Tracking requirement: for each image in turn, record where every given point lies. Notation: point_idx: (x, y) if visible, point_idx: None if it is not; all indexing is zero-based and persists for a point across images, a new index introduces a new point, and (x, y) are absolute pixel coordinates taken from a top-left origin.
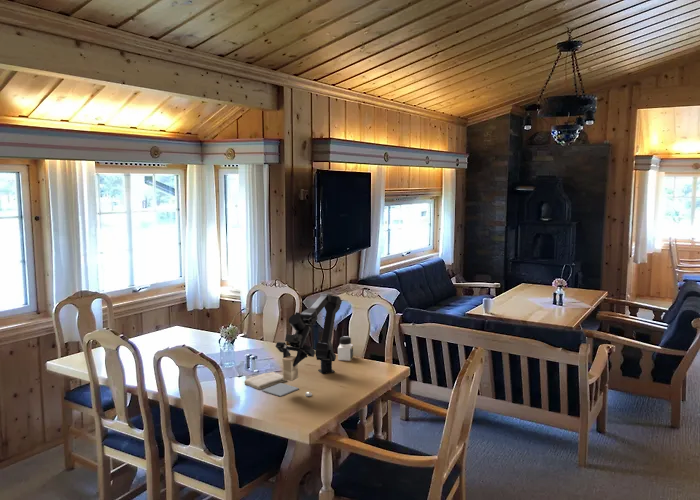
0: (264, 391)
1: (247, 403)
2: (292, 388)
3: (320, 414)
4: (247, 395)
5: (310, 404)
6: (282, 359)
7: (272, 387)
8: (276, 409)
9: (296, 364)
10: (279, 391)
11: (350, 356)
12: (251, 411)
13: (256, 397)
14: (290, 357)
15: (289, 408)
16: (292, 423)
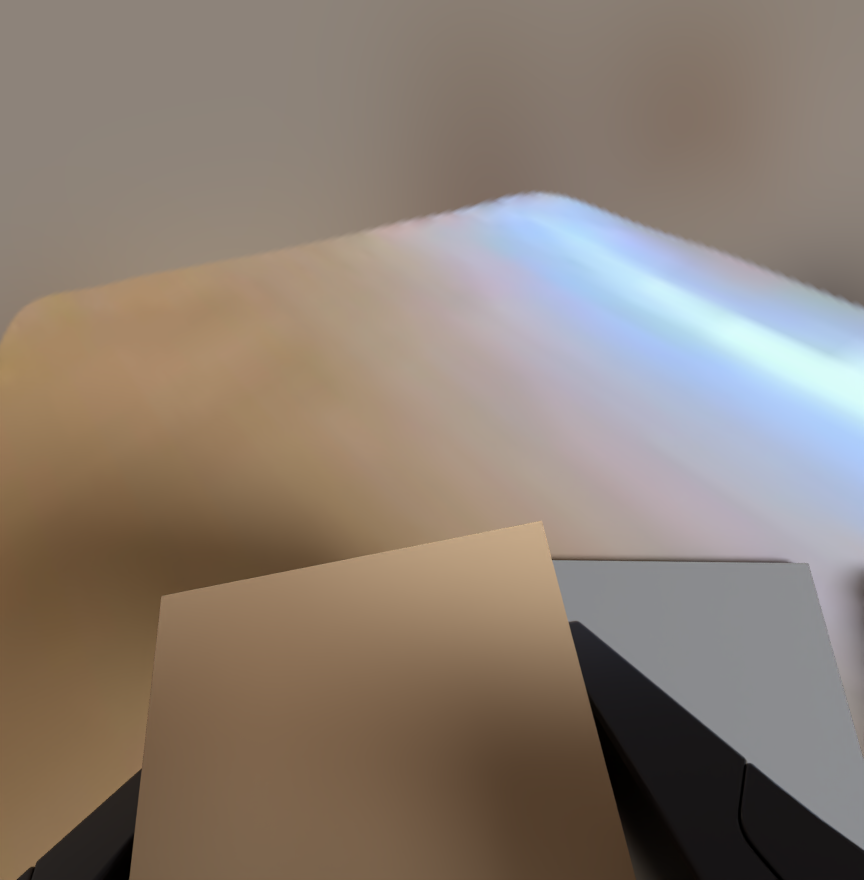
0: (760, 564)
1: (612, 309)
2: None
3: (23, 488)
4: (793, 403)
5: (156, 589)
6: (537, 531)
7: (802, 709)
8: (342, 368)
9: None
10: None
11: None
12: (465, 257)
13: (676, 422)
14: (370, 861)
15: (269, 432)
16: (140, 306)
